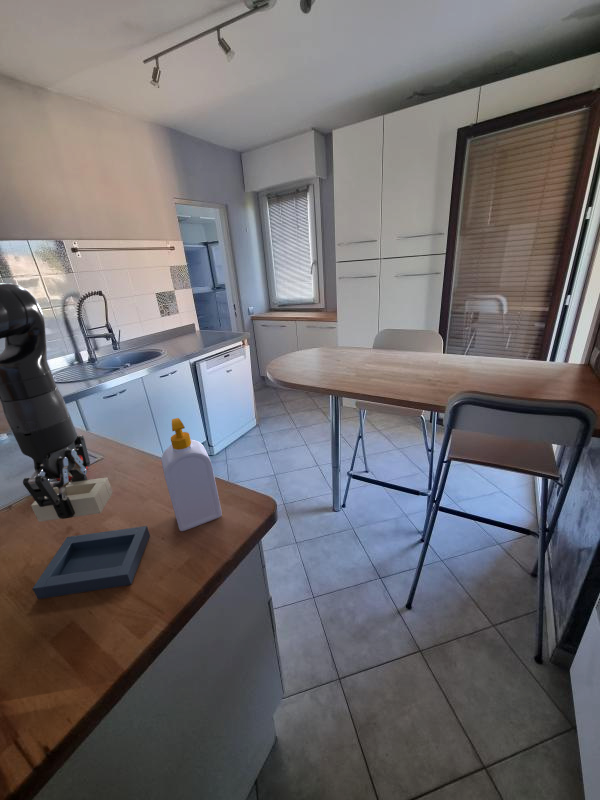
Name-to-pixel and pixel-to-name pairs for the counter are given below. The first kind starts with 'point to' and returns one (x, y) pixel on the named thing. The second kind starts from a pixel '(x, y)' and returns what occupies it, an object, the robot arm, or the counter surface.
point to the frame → (79, 499)
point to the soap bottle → (190, 480)
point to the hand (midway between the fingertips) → (76, 504)
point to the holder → (93, 562)
